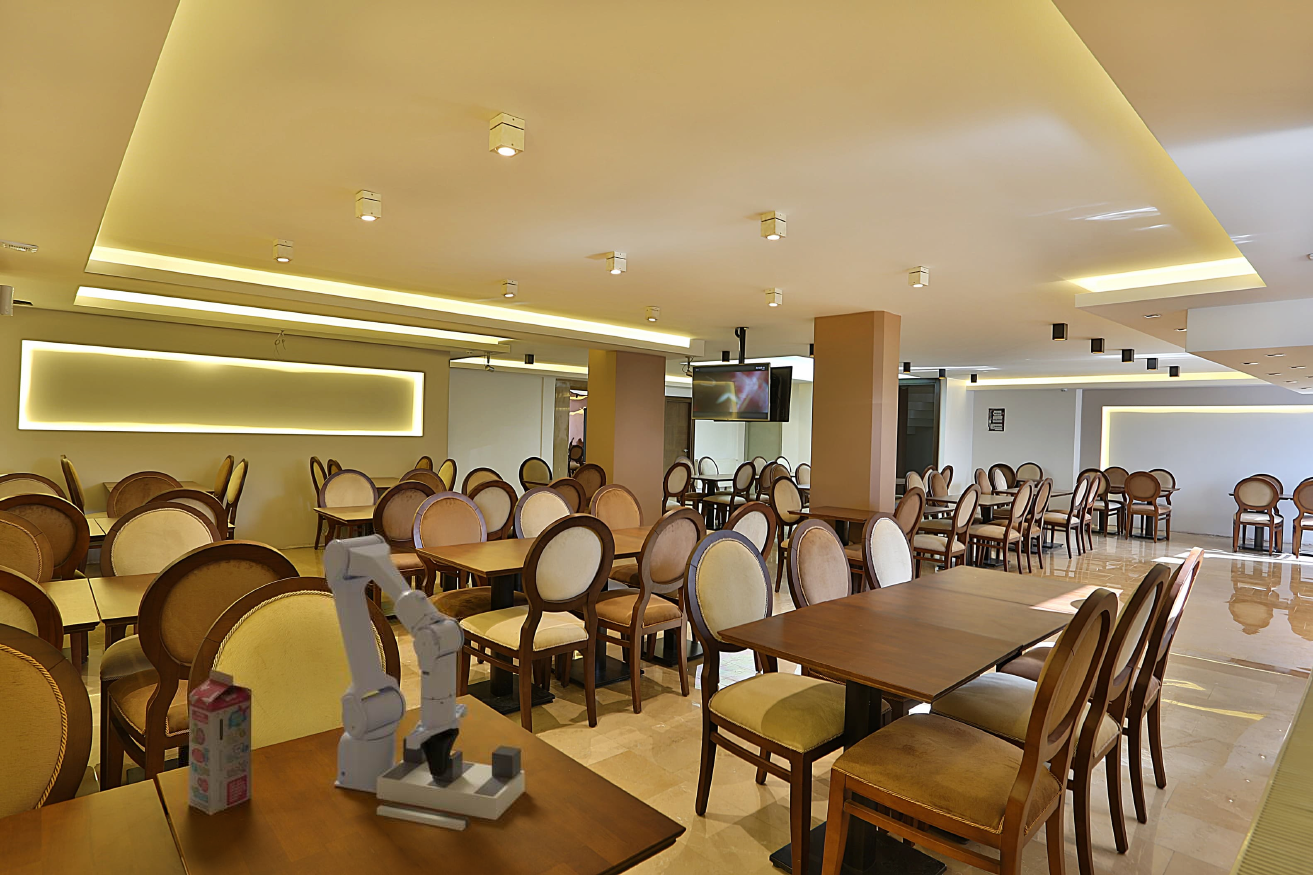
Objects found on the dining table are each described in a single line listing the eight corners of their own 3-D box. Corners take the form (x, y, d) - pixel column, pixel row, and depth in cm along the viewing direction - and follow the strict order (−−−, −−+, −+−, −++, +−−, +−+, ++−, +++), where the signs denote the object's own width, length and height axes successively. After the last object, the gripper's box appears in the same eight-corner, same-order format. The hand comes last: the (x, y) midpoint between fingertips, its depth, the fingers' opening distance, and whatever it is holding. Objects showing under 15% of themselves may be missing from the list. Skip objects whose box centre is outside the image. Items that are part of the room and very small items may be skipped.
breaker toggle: (432, 778, 122) (432, 754, 122) (442, 770, 125) (442, 746, 125) (452, 782, 121) (452, 757, 121) (462, 774, 124) (462, 749, 124)
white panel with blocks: (376, 797, 123) (377, 753, 123) (412, 771, 132) (412, 730, 132) (495, 819, 116) (496, 773, 116) (524, 790, 125) (524, 747, 125)
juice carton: (228, 787, 126) (229, 663, 126) (250, 797, 122) (251, 669, 122) (188, 804, 120) (189, 674, 120) (210, 815, 117) (211, 681, 116)
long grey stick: (376, 814, 117) (376, 807, 117) (384, 808, 119) (384, 802, 119) (462, 830, 113) (462, 824, 113) (468, 824, 115) (468, 817, 115)
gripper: (433, 712, 112) (432, 798, 112) (482, 681, 126) (481, 758, 126) (395, 706, 114) (394, 791, 114) (447, 677, 128) (446, 753, 128)
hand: (437, 773), depth 120 cm, fingers closed
